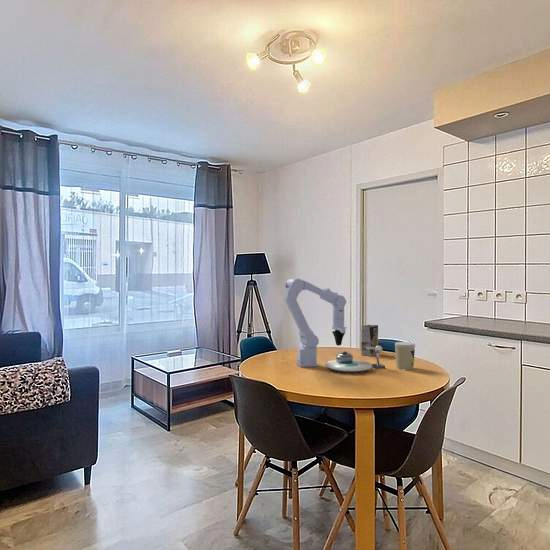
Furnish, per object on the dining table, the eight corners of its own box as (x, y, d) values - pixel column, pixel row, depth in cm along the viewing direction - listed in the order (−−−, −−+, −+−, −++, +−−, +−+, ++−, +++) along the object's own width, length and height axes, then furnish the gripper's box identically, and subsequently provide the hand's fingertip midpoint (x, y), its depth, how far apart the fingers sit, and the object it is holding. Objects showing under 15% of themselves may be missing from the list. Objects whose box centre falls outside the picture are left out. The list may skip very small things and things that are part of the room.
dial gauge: (368, 369, 202) (368, 346, 202) (364, 366, 207) (364, 344, 207) (385, 368, 203) (385, 345, 203) (380, 366, 208) (380, 344, 208)
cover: (339, 363, 203) (339, 353, 203) (334, 360, 211) (333, 350, 211) (355, 363, 205) (355, 353, 205) (349, 359, 213) (349, 350, 213)
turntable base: (336, 374, 192) (336, 371, 192) (324, 365, 210) (324, 362, 210) (374, 372, 195) (374, 369, 195) (359, 363, 213) (359, 360, 213)
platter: (334, 372, 190) (334, 370, 190) (319, 361, 211) (319, 360, 211) (380, 369, 194) (380, 368, 194) (361, 359, 215) (361, 358, 215)
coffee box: (371, 356, 231) (371, 326, 231) (360, 355, 235) (360, 326, 235) (378, 353, 238) (378, 325, 238) (367, 352, 242) (367, 324, 242)
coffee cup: (416, 370, 198) (416, 345, 198) (395, 370, 200) (395, 344, 200) (413, 366, 207) (413, 341, 207) (394, 365, 209) (394, 341, 209)
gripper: (351, 320, 210) (351, 347, 210) (341, 316, 224) (341, 342, 224) (337, 320, 208) (337, 348, 208) (328, 317, 222) (328, 343, 223)
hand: (338, 345), depth 216 cm, fingers closed
